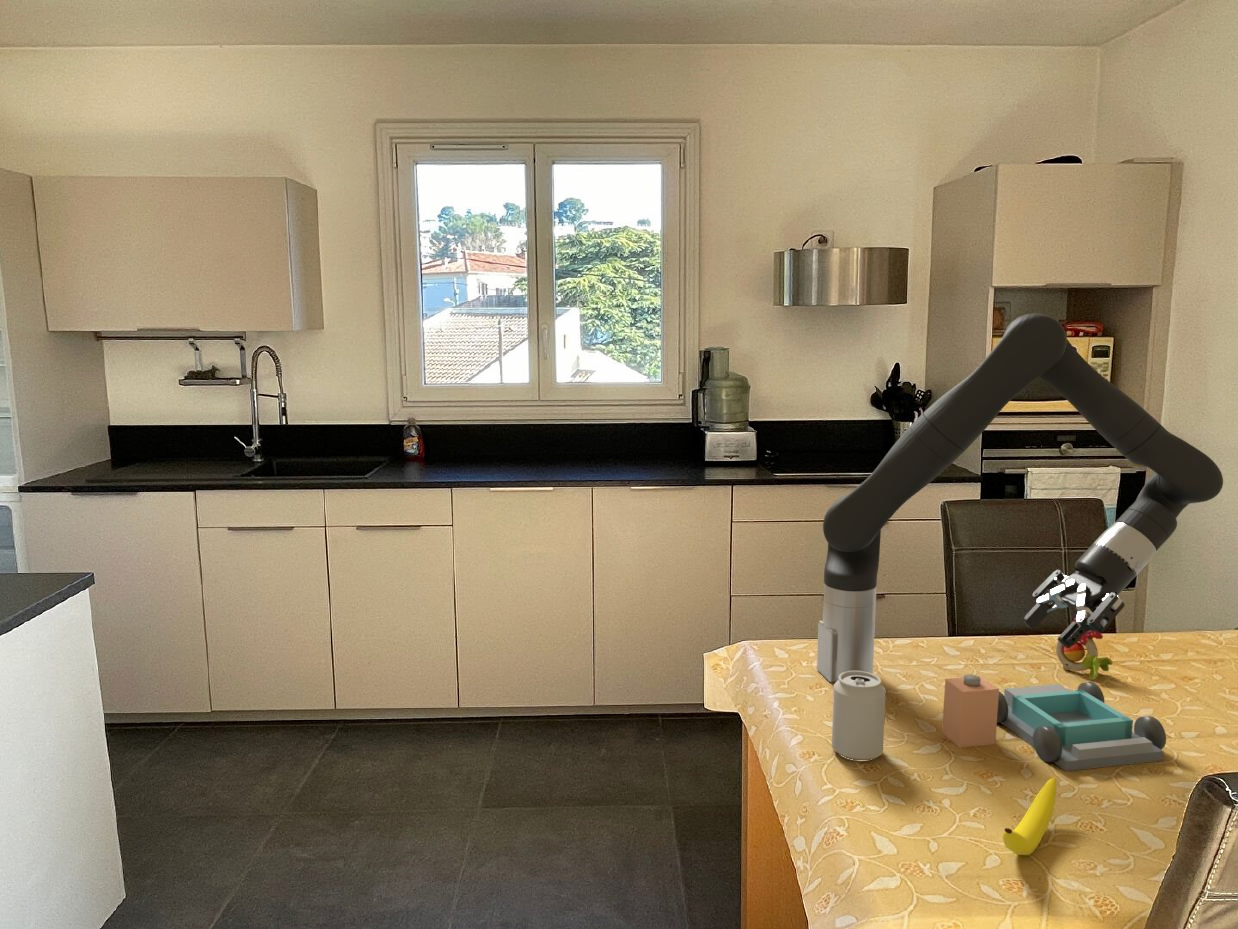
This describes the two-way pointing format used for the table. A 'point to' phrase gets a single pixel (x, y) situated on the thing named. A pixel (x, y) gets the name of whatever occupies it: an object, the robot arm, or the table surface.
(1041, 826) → the banana
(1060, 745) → the chassis
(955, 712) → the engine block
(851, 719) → the can
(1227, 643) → the table surface
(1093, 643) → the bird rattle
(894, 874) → the table surface
